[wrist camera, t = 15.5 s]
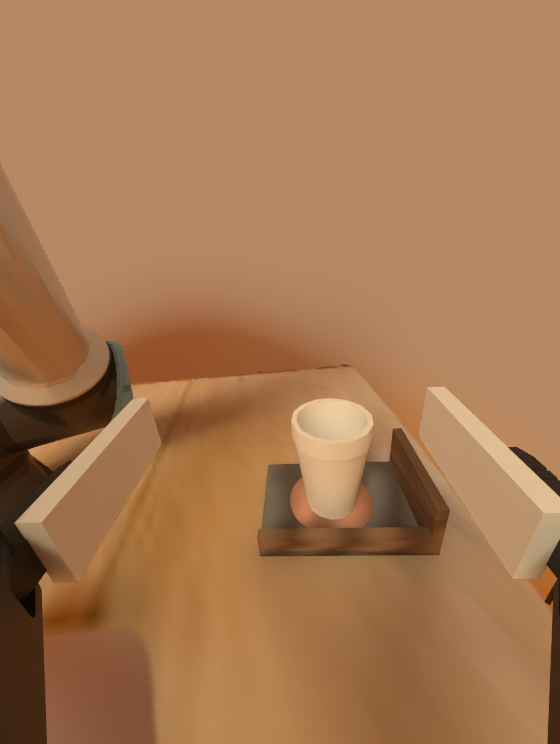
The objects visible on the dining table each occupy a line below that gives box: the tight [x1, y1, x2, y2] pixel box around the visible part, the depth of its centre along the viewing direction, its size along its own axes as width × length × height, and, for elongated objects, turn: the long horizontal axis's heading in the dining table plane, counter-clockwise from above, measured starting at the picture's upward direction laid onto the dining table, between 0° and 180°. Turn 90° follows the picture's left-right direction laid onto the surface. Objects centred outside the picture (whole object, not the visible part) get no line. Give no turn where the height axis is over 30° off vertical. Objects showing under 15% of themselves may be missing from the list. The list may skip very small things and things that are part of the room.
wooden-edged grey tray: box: [257, 428, 450, 556], centre depth 38 cm, size 20×14×7 cm
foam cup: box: [291, 398, 374, 520], centre depth 36 cm, size 10×9×13 cm
